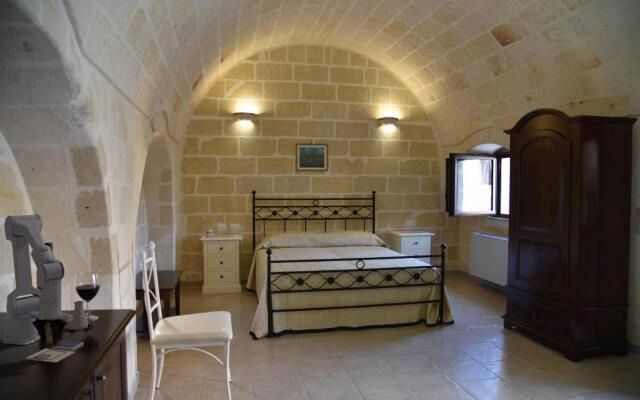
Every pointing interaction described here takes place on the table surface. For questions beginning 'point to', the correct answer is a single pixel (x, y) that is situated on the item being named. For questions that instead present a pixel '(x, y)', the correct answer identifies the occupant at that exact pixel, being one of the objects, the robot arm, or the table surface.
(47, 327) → the stamp
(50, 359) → the paper sheet
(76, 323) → the flask
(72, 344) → the ink pad
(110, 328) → the table surface
